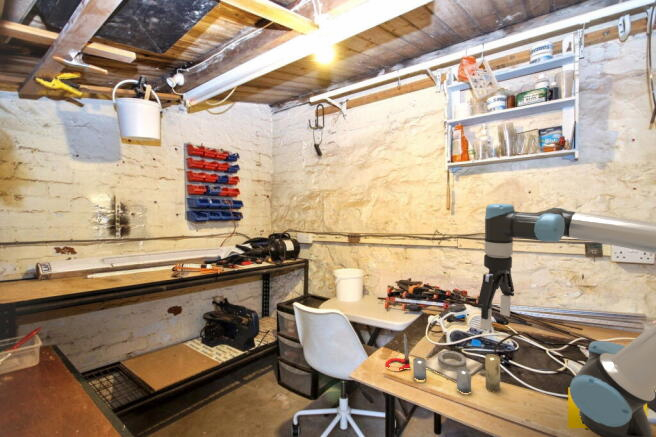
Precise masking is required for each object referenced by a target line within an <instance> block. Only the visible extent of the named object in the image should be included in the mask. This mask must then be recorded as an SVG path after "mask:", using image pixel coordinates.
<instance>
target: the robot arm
mask: <svg viewBox="0 0 656 437" xmlns="http://www.w3.org/2000/svg"><path fill="white" fill-rule="evenodd" d="M564 237H566V238H572V239H577V240H581V241H582V240H583V241H588V242H593V243H599V244H603V245H609V246H614V247H619V248H625V249H630V250H635V251H641V252H647V253H651V254H656V222H653V221H647V220H645V221H644V220H640V219H639V220H638V219H637V220H636V219H631V218H630V219H629V218H624V217H617V216H615V217H614V216H608V215H603V214H602V215H601V214H596V213H586V212H579V211H571V210H566V209H564V208H562V207H551V208H547V209H546V210H541V211H538V212H536V211H535V212H529V211H528V212H523V211H515V206H514V205H513V204H511V203H509V204H508V203H491V204H488V205H486V208H485V217H484V242H483V246H484V256H483V265H484V266H483V267H485V268H486V269H488V274H487V273H484V274H483V275H482V284H481V288H480V290H479V291H480V292H479V295H478V296H479V297H478V300H477V304H476V306H477V308H480V328H482V329H485V330H487V331H491V330H492V308H491V306H492V303H493V300H494V297H495V295H496V291H497V290H498V289H500V291H501V293H502V294H501V295H500V305H499V307H500V310H499V311H500V312H499V313H500V315H502V316H506V317H511V299H512V298H511V297H514V296H515V288H514V283H513V277H512V273H511V272H512V268H513V267H512V266H513V257H512V255H513V250H514V249H513V247H514V243H513V242H514V238H516V239H517V238H518V239H525V240H532V241H538V242H545V243H546V242H548V243H549V242H551V243H552V242H553V243H558V242H560V241H561V240H562V238H564ZM587 351H588V358H587V360H586V362H584V364H583V366H581V368H580V370H579V371H578V372H577V374H576V375H575V376H574V377H573V378H572V379H571V381H570V385H569V393H570V397H571V400H572V402H573V403H574V405H575V406H576V408H578V409H579V417H580V416H581V418H582V420H583V421H582V420H581V421H582V422H583V424H584V425H586V427H587V428H589V429H590V430H591V431H593V432H595V433H596V434H597V435H599V436H601V437H653V436H652V434H653V433H652V427H651V424H650V421H649V418H648V417H647V414H646V413H647V412H646V411H645V408H644V406H645V405H647V404H648V403H650V402H651V401H653V400H654V399H655V398H656V392H655V388H656V322H655V323H654V324H652V325H651V326H650V327H649V328H648V329H646V330H645V331H643V333H640V334H639V335H638V336H637V337H636V338H635V339H633V340H632V341H630V342H629V343H628V344H626V345H623V344H620V343H616V342H615V343H614V342H611V341H601V340H595V341H591V342H590V343H589V346H588V349H587ZM581 418H580V419H581Z"/></svg>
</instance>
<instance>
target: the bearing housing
mask: <svg viewBox="0 0 656 437" xmlns="http://www.w3.org/2000/svg"><path fill="white" fill-rule="evenodd" d="M459 367H464V368H467V369H469V370H470V371H471V376H474V375H475V374H476V373H478V372H479V371H480V370H481V369H482V368H484V363H481V362H479V361H477V360H474V359H471V358H468V357H466V356H465V355H464V354H462V353H460V352H457V351H454V350H449V349H445V348H443V349H442V350H440V351H439V352H438V353H436V354H434V355H432V356H430V358H429V359H427V360H426V368H428V369H430V370H432V371H435V372H437V373H439V374H441V375H444V376H445V377H448V378H450V379H451V380H454V381H456V382H457V368H459ZM428 369H427V370H428ZM430 370H429V371H430ZM432 371H431V372H432ZM439 374H438V375H439ZM441 375H440V376H441ZM445 377H444V378H445ZM451 380H450V381H451ZM454 381H453V382H454ZM456 382H455V383H456Z"/></svg>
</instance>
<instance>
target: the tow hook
mask: <svg viewBox="0 0 656 437" xmlns="http://www.w3.org/2000/svg"><path fill="white" fill-rule="evenodd" d="M403 348H404V358H400V357H395V358H394V357H393V358H390V359H388V360H386V362H385V365H384V366H385V368H386V367H388V368H389V367H390V366H391V363H394V361H399V362H398V363H401V362H402V363H401V364H403V365H402V366H399V367H398V368H399V370H400V369H404V368H411V363H410V354H409V350H408V349H409V348H408V339H407V334H406V333H404V334H403ZM389 364H390V365H389ZM411 369H412V368H411Z"/></svg>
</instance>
